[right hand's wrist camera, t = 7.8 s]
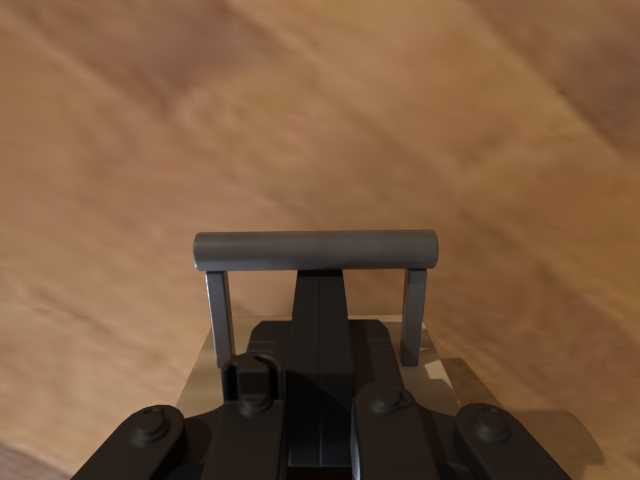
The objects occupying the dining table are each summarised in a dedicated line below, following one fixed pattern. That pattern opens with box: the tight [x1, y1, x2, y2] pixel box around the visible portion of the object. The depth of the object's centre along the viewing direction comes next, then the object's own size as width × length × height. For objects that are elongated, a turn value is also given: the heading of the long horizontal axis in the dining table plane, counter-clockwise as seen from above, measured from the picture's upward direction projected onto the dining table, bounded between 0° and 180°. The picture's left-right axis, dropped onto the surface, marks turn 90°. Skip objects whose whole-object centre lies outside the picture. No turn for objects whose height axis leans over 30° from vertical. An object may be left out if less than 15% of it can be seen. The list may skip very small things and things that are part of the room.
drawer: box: [175, 230, 462, 480], centre depth 16 cm, size 20×9×6 cm, turn 1°
